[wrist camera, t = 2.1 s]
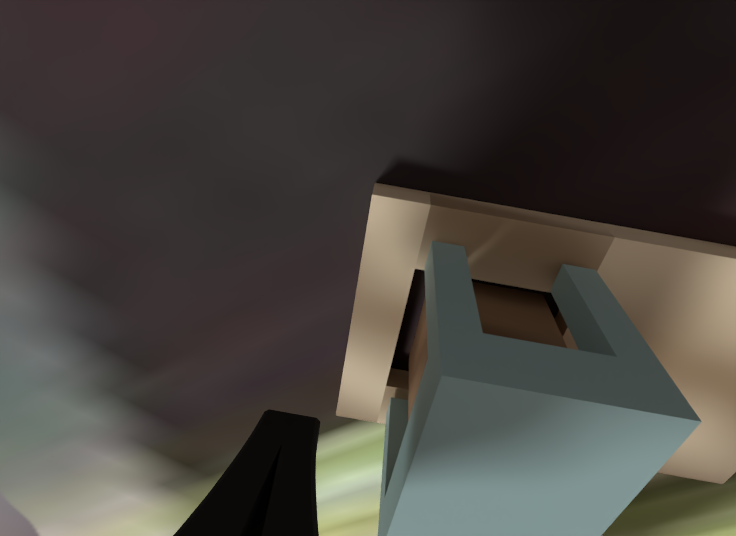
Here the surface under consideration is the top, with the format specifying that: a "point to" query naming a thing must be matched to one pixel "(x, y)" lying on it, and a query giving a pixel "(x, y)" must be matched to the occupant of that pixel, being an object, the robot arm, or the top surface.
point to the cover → (526, 418)
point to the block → (492, 325)
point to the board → (538, 272)
